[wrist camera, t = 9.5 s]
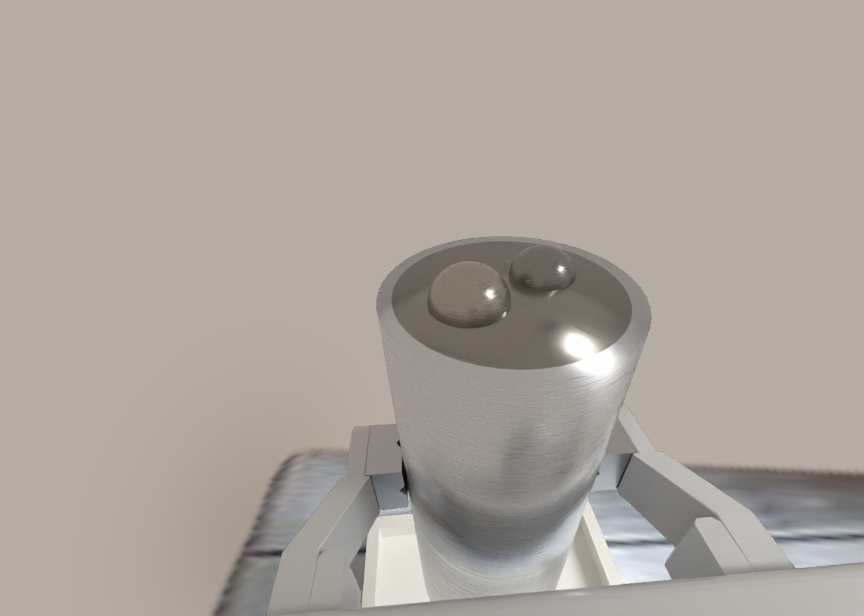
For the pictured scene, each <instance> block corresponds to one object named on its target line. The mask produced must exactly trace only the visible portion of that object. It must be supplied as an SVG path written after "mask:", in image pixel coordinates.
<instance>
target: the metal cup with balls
mask: <svg viewBox="0 0 864 616" xmlns="http://www.w3.org/2000/svg"><path fill="white" fill-rule="evenodd" d="M377 314H378V320H379V326H380V331H381V337H382V343H383V349H384V354H385V360H386V366H387V371H388V377H389V382H390V389H391V394H392V400H393V406H394V411H395V417H396V423H397V429H398V434H399V440H400V446H401V451H402V457H403V463H404V468H405V474H406V480H407V486H408V491H409V497H410V503H411V508H412V514H413V520H414V526H415V531H416V537H417V543H418V548H419V554H420V560H421V566H422V571H423V577H424V582H425V587H426V590H427V593H428V596H429V599H430V601H441V600H452V599H463V598H475V597H486V596H497V595H508V594H519V593H530V592H541V591H552V590H556V587H557V584H558V581H559V579H560V576H561V573H562V570H563V568H564V565H565V562H566V559H567V556H568V554H569V551H570V548H571V545H572V543H573V540H574V537H575V534H576V531H577V529H578V526H579V523H580V520H581V518H582V515H583V512H584V509H585V507H586V504H587V501H588V498H589V495H590V493H591V490H592V487H593V484H594V482H595V479H596V476H597V473H598V471H599V468H600V465H601V462H602V459H603V457H604V454H605V451H606V448H607V446H608V443H609V440H610V437H611V434H612V432H613V429H614V426H615V423H616V421H617V418H618V415H619V412H620V410H621V407H622V404H623V401H624V398H625V395H626V393H627V390H628V387H629V384H630V382H631V379H632V376H633V373H634V371H635V368H636V365H637V362H638V359H639V357H640V354H641V351H642V349H643V346H644V343H645V340H646V337H647V335H648V332H649V329H650V324H651V310H650V305H649V303H648V300H647V297H646V296H645V294H644V292H643V291H642V289H641V288H640V287H639V285H638V284H637V283H636V282H635V281H634V280H633V279H632V278H631V277H630V276H629V275H628V274H626V273H625V272H624V271H623V270H621V269H619V268H618V267H617V266H615V265H614V264H612V263H610V262H608V261H607V260H605V259H603V258H601V257H599V256H596V255H594V254H592V253H590V252H587V251H584V250H581V249H579V248H576V247H572V246H568V245H565V244H561V243H557V242H552V241H547V240H541V239H534V238H525V237H510V236H509V237H508V236H500V237H499V236H495V237H479V238H470V239H463V240H458V241H453V242H449V243H445V244H441V245H438V246H435V247H432V248H429V249H426V250H424V251H421V252H420V253H417V254H415V255H413V256H411V257H410V258H408V259H406V260H405V261H403V262H402V263H401V264H399V265H398V266H397V267H395V268H394V269H393V270H392V271H391V272H390V273H389V274H388V275H387V277H386V278H385V280H384V281H383V283H382V284H381V287H380V289H379V291H378V295H377Z"/></svg>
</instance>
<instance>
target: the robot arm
mask: <svg viewBox="0 0 864 616" xmlns="http://www.w3.org/2000/svg"><path fill="white" fill-rule="evenodd" d="M604 490H617V492H618V493H619V494H620V495H621V496H622V497H623V498H624V499H626V500H627V501H628V502H629V503H630V504H631V505H632V506H633V507H634V508H635V509H636V510H637V511H638V512H639V513H640V514H641V515H642V516H643V517H644V518H646V519H647V520H648V521H649V522H650V523H651V524H652V525H653V526H654V527H655V528H656V529H657V530H658V531H659V532H660V533H661V534H662V535H663V536H664V537H666V538H667V539H668V540H669V541H670V542H671V543H672V544H673V545H674V546H675V548H674V550H673V551H672V553H671V554H670V555H669V557H668V558H667V560H666V562H665V566H666V568H667V570H668V572H669V574H670V576H671V578H672V580H663V581H652V582H641V583H630V584H619V585H608V586H597V587H586V588H574V589H563V590H552V591H541V592H530V593H519V594H508V595H497V596H486V597H475V598H463V599H452V600H441V601H430V602H419V603H408V604H397V605H386V606H375V607H364V608H360V603H361V590H360V588H359V586H358V583H357V581H356V579H355V576H354V574H353V572H352V569H351V567H350V565H351V563H352V561H353V559H354V558H355V556H356V554H357V552H358V550H359V549H360V547H361V545H362V543H363V541H364V540H365V538H366V536H367V534H368V533H369V531H370V529H371V527H372V525H373V524H374V522H375V520H376V518H377V516H378V515H379V513H380V511H379V510H386V509H395V508H403V507H408V486H407V480H406V474H405V468H404V463H403V457H402V451H401V446H400V440H399V434H398V429H397V424H391V425H373V426H359V427H354V429H353V432H352V438H351V444H350V450H349V457H348V463H347V470H346V477H345V478H340V480H339V481H338V482H337V483H336V485H335V486H334V487H333V489H332V490H331V491H330V492H329V494H328V495H327V496H326V497H325V499H324V500H323V501H322V503H321V504H320V505H319V506H318V508H317V509H316V510H315V511H314V513H313V514H312V515H311V517H310V518H309V519H308V520H307V522H306V523H305V524H304V526H303V527H302V528H301V529H300V531H299V532H298V533H297V534H296V536H295V537H294V538H293V540H292V541H291V542H290V543H289V545H288V546H287V547H286V548H285V550H284V551H283V552H282V555H281V559H280V563H279V567H278V571H277V574H276V578H275V582H274V586H273V590H272V594H271V598H270V601H269V605H268V609H267V613H266V616H864V562H863V563H852V564H841V565H830V566H819V567H808V568H795V567H794V565H793V564H792V563H791V562H790V560H789V559H788V558H787V556H786V555H785V554H784V552H783V551H782V550H781V548H780V547H779V546H778V545H777V543H776V542H775V541H774V539H773V538H772V537H771V535H770V534H769V533H768V531H767V530H766V529H765V528H764V526H763V525H762V524H761V522H760V521H759V520H758V518H757V517H756V516H755V514H754V513H753V512H752V511H750V510H749V509H747V508H746V507H744V506H743V505H741V504H740V503H738V502H737V501H735V500H734V499H732V498H731V497H729V496H728V495H726V494H725V493H723V492H722V491H720V490H719V489H718V488H716V487H715V486H713V485H712V484H710V483H709V482H707V481H706V480H704V479H703V478H701V477H700V476H698V475H697V474H695V473H694V472H692V471H691V470H689V469H688V468H686V467H685V466H683V465H682V464H680V463H679V462H677V461H676V460H674V459H673V458H671V457H670V456H668V455H667V454H665V453H664V452H662V451H656V450H655V448H654V446H653V445H652V443H651V442H650V440H649V439H648V437H647V436H646V434H645V433H644V431H643V429H642V428H641V426H640V425H639V423H638V422H637V420H636V419H635V417H634V416H633V414H632V412H631V411H630V410H629V408H628V407H627V406H626V405H622V407H621V410H620V412H619V415H618V418H617V421H616V423H615V426H614V429H613V432H612V434H611V437H610V440H609V443H608V446H607V448H606V451H605V454H604V457H603V459H602V462H601V465H600V468H599V471H598V473H597V476H596V479H595V482H594V484H593V487H592V490H591V491H604Z"/></svg>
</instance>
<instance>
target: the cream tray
mask: <svg viewBox="0 0 864 616" xmlns="http://www.w3.org/2000/svg"><path fill="white" fill-rule="evenodd" d="M619 584H623V583H622V581H621V578H620V576H619V573H618V571H617V568H616V566H615V563H614V561H613V559H612V556H611V554H610V551H609V549H608V546H607V544H606V542H605V539H604V537H603V534H602V532H601V529H600V527H599V525H598V522H597V520H596V517H595V515H594V512H593V510H592V507H591V505H590V503H589V500H588V501H587V504H586V507H585V509H584V512H583V515H582V518H581V520H580V523H579V526H578V529H577V531H576V534H575V537H574V540H573V543H572V545H571V548H570V551H569V554H568V556H567V559H566V562H565V565H564V568H563V570H562V573H561V576H560V579H559V581H558V584H557V587H556V590H563V589H574V588H586V587H597V586H608V585H619ZM419 602H430V599H429V596H428V593H427V590H426V587H425V582H424V577H423V571H422V566H421V560H420V554H419V548H418V543H417V537H416V531H415V526H414V520H413V514H402V515H390V516H379V517H377V518H376V520H375V522H374V524H373V525H372V527H371V529H370V531H369V533H368V535H367V547H366V559H365V571H364V583H363V594H362V606H361V608H364V607H375V606H386V605H397V604H408V603H419Z"/></svg>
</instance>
